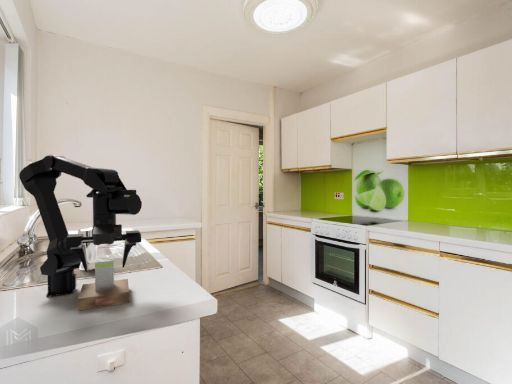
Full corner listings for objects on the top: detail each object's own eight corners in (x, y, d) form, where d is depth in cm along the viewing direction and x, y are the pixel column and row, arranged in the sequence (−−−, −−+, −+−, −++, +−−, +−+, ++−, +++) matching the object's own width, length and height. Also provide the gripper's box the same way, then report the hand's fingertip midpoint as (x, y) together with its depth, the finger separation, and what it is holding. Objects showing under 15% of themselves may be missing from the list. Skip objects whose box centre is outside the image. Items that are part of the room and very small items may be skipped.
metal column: (95, 291, 79) (94, 262, 79) (96, 286, 83) (96, 258, 83) (113, 289, 81) (113, 260, 81) (114, 284, 85) (113, 257, 85)
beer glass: (79, 266, 113) (78, 228, 113) (99, 265, 116) (99, 227, 116) (76, 271, 107) (75, 231, 107) (97, 269, 110) (97, 230, 109)
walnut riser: (77, 311, 74) (77, 299, 74) (82, 294, 85) (82, 284, 85) (129, 302, 79) (129, 292, 79) (127, 288, 90) (127, 278, 90)
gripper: (59, 218, 70) (60, 282, 71) (142, 215, 78) (143, 272, 79) (67, 214, 80) (67, 270, 81) (139, 211, 88) (140, 262, 89)
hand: (105, 269), depth 82 cm, fingers open, 9 cm apart
